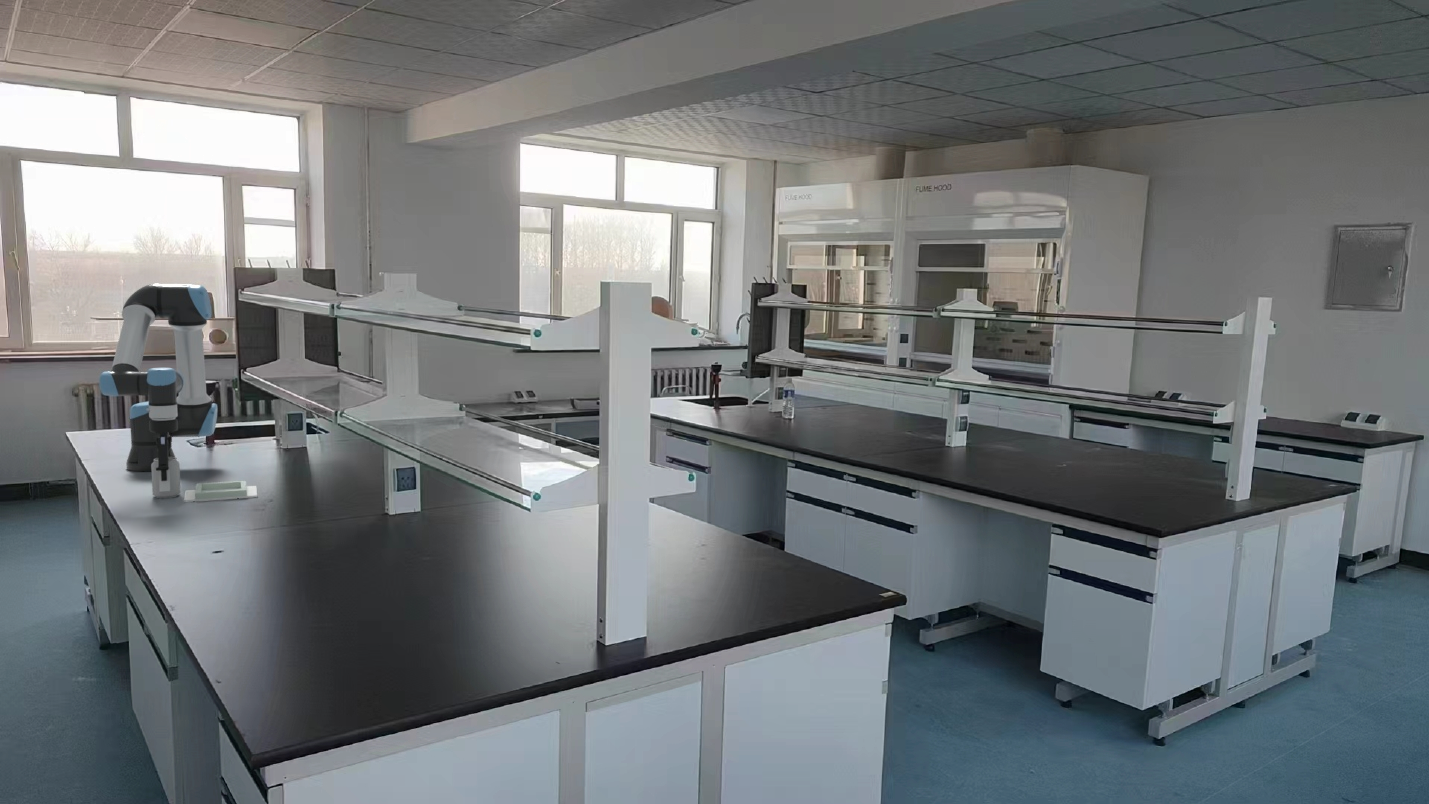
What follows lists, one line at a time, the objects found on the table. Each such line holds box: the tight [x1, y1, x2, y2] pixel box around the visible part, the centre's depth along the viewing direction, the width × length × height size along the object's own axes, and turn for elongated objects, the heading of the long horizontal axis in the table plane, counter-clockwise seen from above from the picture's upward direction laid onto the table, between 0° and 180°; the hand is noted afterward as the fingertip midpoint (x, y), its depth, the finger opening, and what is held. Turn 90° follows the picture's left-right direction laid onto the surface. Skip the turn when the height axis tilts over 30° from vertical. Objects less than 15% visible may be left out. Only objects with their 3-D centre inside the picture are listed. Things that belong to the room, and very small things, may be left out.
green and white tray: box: [183, 480, 258, 503], centre depth 293 cm, size 14×20×2 cm
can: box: [151, 456, 181, 499], centre depth 288 cm, size 8×8×12 cm
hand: (166, 486), depth 288 cm, fingers open, 13 cm apart
